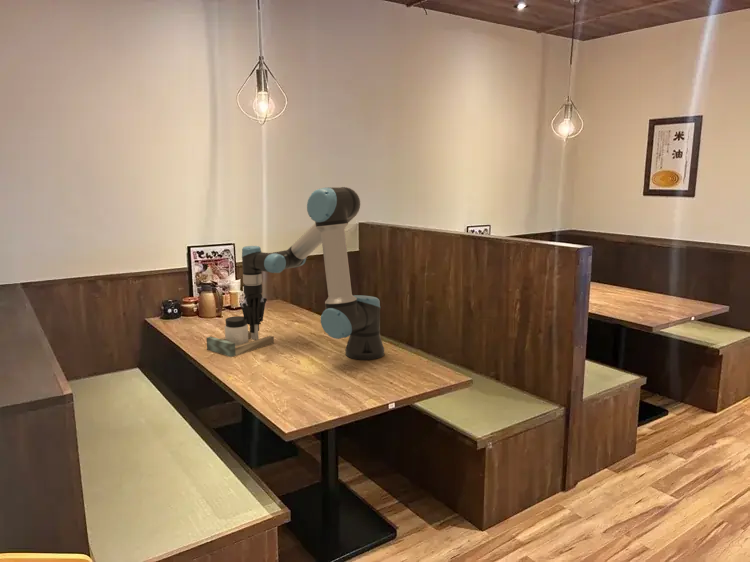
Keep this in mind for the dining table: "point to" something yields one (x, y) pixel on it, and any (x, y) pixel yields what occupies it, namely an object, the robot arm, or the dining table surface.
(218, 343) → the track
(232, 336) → the jar
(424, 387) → the dining table surface
